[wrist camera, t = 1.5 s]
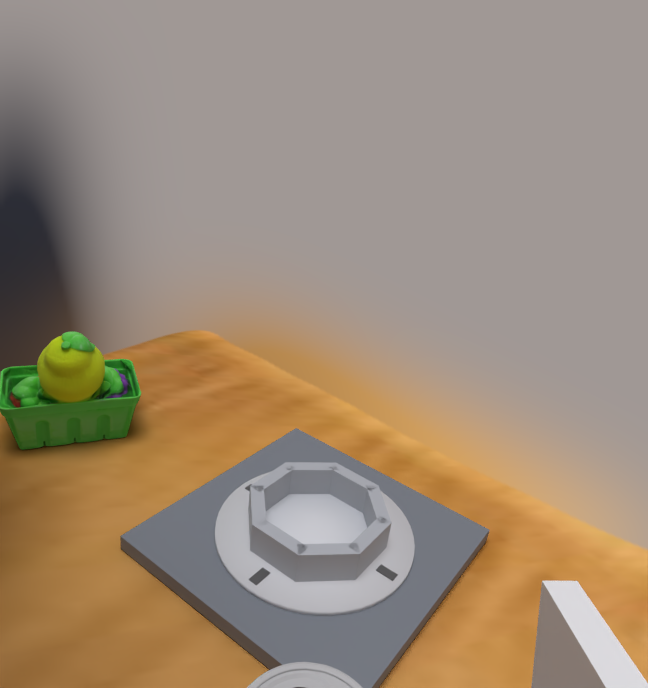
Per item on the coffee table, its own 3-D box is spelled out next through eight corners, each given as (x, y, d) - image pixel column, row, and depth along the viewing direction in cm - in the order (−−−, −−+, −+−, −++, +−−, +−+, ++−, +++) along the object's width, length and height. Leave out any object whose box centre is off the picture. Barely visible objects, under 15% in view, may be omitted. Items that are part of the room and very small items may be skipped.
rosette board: (120, 548, 43) (119, 505, 42) (295, 438, 58) (298, 403, 57) (346, 731, 33) (356, 684, 32) (486, 541, 48) (497, 502, 47)
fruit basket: (132, 401, 61) (129, 298, 57) (145, 451, 54) (143, 338, 49) (7, 414, 57) (-8, 304, 52) (3, 470, 50) (-15, 348, 45)
